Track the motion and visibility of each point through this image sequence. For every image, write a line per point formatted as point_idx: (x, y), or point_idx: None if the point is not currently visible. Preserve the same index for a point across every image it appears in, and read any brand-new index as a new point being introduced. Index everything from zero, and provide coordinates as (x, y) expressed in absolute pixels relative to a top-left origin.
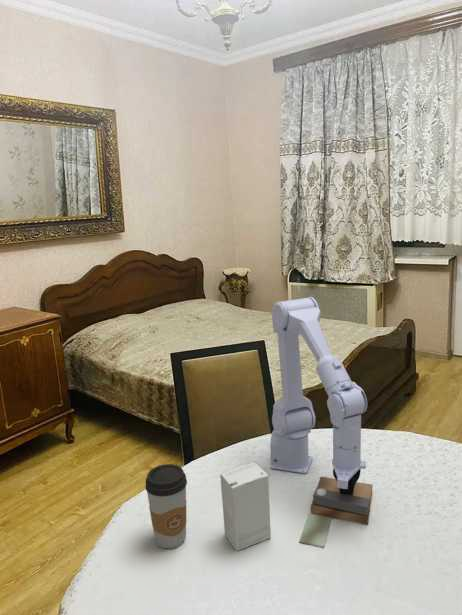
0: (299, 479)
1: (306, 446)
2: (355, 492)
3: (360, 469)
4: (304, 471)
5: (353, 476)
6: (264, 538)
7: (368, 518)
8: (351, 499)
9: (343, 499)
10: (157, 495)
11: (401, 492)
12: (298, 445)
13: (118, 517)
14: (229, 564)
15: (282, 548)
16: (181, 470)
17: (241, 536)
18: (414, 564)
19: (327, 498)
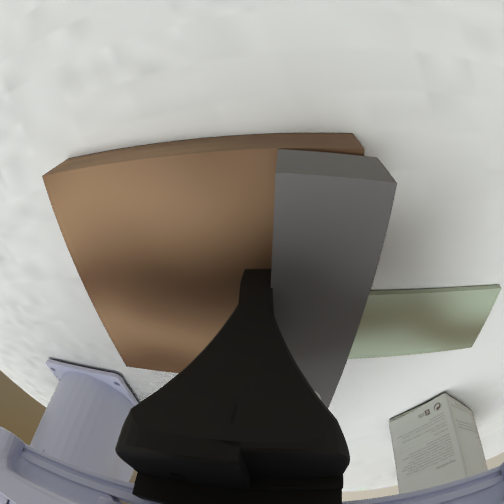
0: (154, 384)
1: (65, 431)
2: (147, 243)
3: (165, 454)
4: (117, 381)
5: (332, 471)
6: (452, 400)
7: (300, 133)
8: (323, 289)
9: (335, 326)
10: None
11: (19, 43)
12: (91, 459)
13: (378, 488)
14: (498, 404)
15: (481, 364)
16: None
17: (478, 436)
18: None
19: (338, 379)
